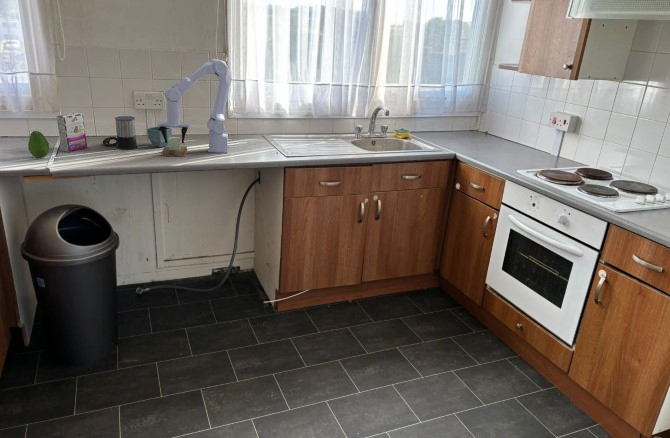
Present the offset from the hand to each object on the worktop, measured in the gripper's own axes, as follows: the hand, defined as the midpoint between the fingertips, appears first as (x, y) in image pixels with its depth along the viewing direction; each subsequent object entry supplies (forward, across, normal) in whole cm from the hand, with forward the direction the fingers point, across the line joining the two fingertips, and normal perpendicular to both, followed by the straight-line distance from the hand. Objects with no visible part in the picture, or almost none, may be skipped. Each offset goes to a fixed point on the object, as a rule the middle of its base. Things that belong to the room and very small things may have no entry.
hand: (174, 142), depth 241 cm
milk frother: (+6, -27, +10) cm, 30 cm away
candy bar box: (+6, -46, +2) cm, 46 cm away
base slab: (+5, 0, 0) cm, 5 cm away
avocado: (+6, -55, -14) cm, 57 cm away
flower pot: (+6, -9, +14) cm, 18 cm away
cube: (+3, 0, 0) cm, 3 cm away
